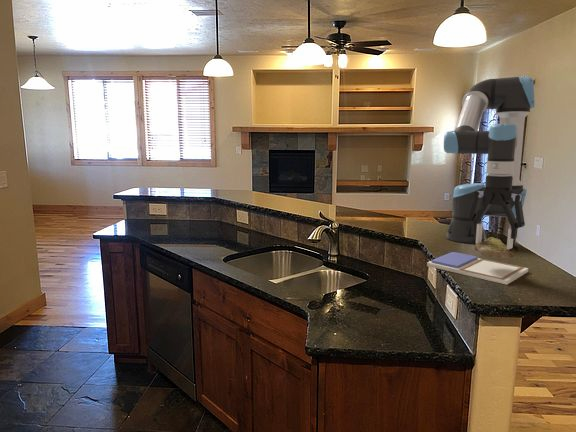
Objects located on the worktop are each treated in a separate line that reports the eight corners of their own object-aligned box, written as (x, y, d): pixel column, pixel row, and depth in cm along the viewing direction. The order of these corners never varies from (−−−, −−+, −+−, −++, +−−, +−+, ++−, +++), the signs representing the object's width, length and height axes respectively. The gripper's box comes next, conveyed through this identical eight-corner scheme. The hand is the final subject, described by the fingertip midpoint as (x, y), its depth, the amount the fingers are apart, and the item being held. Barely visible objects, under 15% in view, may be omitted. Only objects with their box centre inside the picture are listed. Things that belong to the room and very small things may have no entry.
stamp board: (451, 255, 158) (451, 250, 158) (527, 271, 139) (528, 265, 139) (426, 265, 147) (427, 260, 146) (507, 284, 128) (507, 278, 128)
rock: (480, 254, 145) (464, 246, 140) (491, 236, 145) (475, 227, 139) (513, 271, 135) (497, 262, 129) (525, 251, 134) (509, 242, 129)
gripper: (459, 173, 139) (455, 241, 143) (533, 178, 123) (526, 254, 127) (470, 172, 144) (465, 238, 148) (542, 176, 128) (535, 249, 132)
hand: (493, 245), depth 138 cm, fingers closed on rock, 9 cm apart
